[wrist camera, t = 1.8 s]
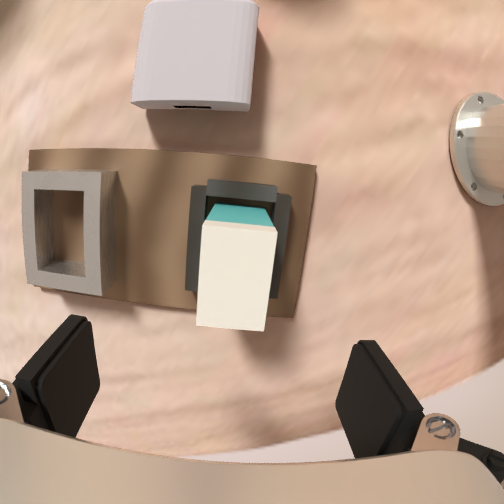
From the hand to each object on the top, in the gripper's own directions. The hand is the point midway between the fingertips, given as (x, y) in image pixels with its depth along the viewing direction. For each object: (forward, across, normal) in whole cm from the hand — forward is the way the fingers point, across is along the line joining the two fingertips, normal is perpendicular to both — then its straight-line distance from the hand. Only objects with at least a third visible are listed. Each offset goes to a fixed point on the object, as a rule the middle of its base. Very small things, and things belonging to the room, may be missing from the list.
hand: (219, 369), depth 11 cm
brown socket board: (+19, +7, 0) cm, 20 cm away
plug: (+18, -1, 0) cm, 18 cm away
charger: (+19, +4, -19) cm, 27 cm away
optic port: (+19, +14, 0) cm, 24 cm away
